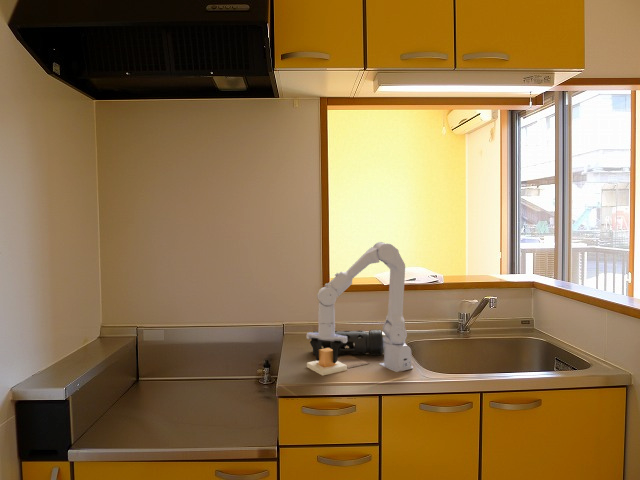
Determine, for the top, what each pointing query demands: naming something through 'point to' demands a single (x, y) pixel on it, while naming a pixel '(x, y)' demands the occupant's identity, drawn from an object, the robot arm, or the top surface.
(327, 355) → the plug
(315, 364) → the socket block
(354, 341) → the muzzle brake
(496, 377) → the top surface
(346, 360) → the pad
